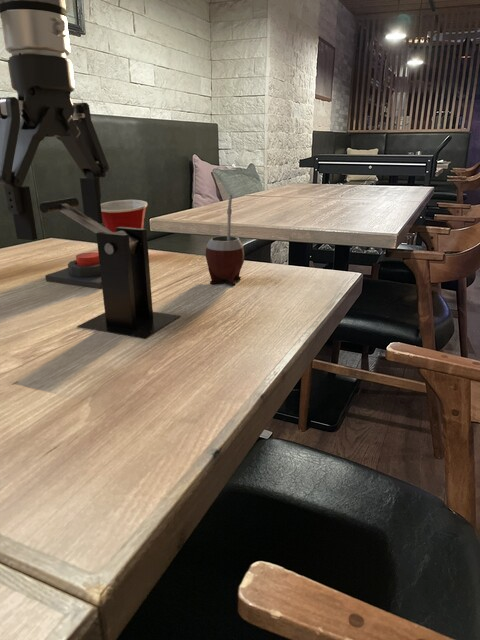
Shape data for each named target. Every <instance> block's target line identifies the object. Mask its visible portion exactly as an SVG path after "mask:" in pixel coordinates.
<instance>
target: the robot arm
mask: <svg viewBox="0 0 480 640" xmlns="http://www.w3.org/2000/svg"><path fill="white" fill-rule="evenodd" d="M0 19H1V27H2V35H3V40H4V46H5V51H6V52H7V53H9V54H11V56H9V57H8V59H7V67H8V74H9V78H10V79H9V80H10V85H11V87H12V90H14V91H16V93H17V97H16V96H4V97H0V187H3V188H4V193H5V198H6V204H7V209H8V212H9V214H12V217H13V222H14V229H15V235H16V239H18V240H24V241H25V240H27V241H36V240H38V234H37V228H36V221H35V213H34V209H33V202H32V196H31V188H30V186H26V185H24V182H25V181H26V177H27V175H28V173H29V170H30V167H31V165H32V163H33V160H34V158H35V154H37V153H36V152H37V151H38V148H39V145H40V143H41V142H42V141H44V140H45V138H50V137H51V138H54V137H55V138H56V139H57V140H59V141H61V143H62V145H63V146H64V147H65V149H66V150H67V152H68V154H69V155H70V157H71V158H72V159H73V161H74V163H75V165H76V166H77V167H78V169H79V170H80V172H81V173H82V175H83V176H84V177H79V185H80V192H81V201H82V208H83V209H82V211H83V214H84V215H86V216H88V217H89V218H91V219H92V220H94V221H96V222H97V223H99V224H100V225H102V224H104V222H103V220H102V212H101V204H102V202H101V200H102V192H101V191H102V189H101V179H100V178H106V175H107V172H109V169H110V167H109V164H108V161H107V157H106V156H105V153H104V149H103V148H102V145H101V142H100V140H99V137H98V135H97V131H96V128H95V127H94V124H93V121H92V116H91V110H90V105H89V103H87V102H73V101H72V97H71V93H72V92H74V91H75V89H76V85H75V75H74V67H73V62H72V61H71V59H69V58H67V56H69V55H71V45H70V38H69V37H70V36H69V28H68V20H67V7H66V0H0ZM21 118H22V119H21Z"/></svg>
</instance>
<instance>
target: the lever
mask: <svg viewBox="0 0 480 640" xmlns="http://www.w3.org/2000/svg"><path fill="white" fill-rule="evenodd" d="M79 205H80V203H79V199H78V198H77V197H73V196H72V197H67V198H61V199H54V200H48V201H41V202H40V203H39V211H40V212H41V213H42V214H51V213H54V212H61V213H62V214H64V215H66V217H69V218H70V219H72V220H73V221H75V222H77V223H78V224H80V225H81V226H83V227H84V228H87V229H88V230H90V231H91V232H92V233H94V234H96V233H99V232H109V233H113V232H112V231H110V230H109V229H107V228H105V225H104V226H103V225H102V224H99V223H97V222H96V221H94V220H92V219H91V218H89V217H88V216H86V215H84V212H83V213H82V212H81V211H79V210H78V209H77V208H78V207H79ZM114 233H120V234H128V233H126V232H124V231H123V230H121V231H118V232H114ZM129 243H130V255H131V256H133V255H134V253H135V250H136V247H137V244H138V240H137V239H136V238H134V237H132V236H131V235H129Z"/></svg>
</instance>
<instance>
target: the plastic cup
mask: <svg viewBox="0 0 480 640" xmlns="http://www.w3.org/2000/svg"><path fill="white" fill-rule="evenodd" d="M147 207H148V202H147V201H145V200H141V199H121V200H111V201H106V202H103V203H102V202H101V212H102V221H103V224H104V227H105V228H107V229H109V230H110V231H112V232H113V233H114V232H116V229H115V228H117V227H129V228H142V229H144V225H145V218H146V210H147Z"/></svg>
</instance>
